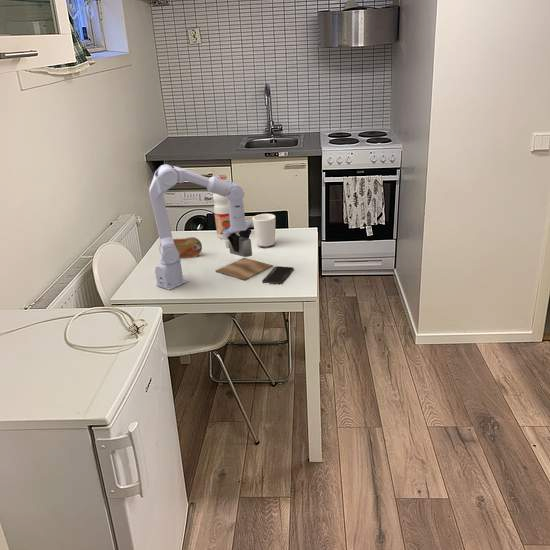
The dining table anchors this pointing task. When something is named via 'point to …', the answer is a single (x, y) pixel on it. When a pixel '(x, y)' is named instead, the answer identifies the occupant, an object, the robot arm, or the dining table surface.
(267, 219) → the cup
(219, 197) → the fruit juice
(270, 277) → the phone
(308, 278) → the dining table surface
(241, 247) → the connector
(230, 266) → the board
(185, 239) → the tin
